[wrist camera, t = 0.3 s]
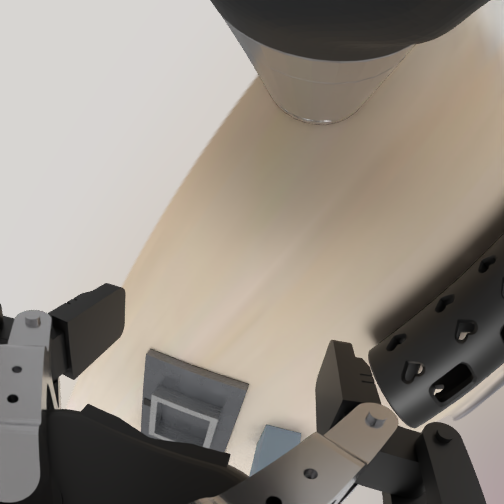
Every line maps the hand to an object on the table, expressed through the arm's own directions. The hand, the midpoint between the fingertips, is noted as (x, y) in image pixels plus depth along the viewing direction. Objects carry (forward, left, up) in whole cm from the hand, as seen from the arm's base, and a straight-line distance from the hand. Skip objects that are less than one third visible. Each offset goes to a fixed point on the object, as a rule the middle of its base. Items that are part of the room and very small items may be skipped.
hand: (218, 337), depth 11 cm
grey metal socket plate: (+25, -4, -18) cm, 31 cm away
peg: (+25, +8, -18) cm, 32 cm away
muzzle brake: (-3, +22, -19) cm, 29 cm away
